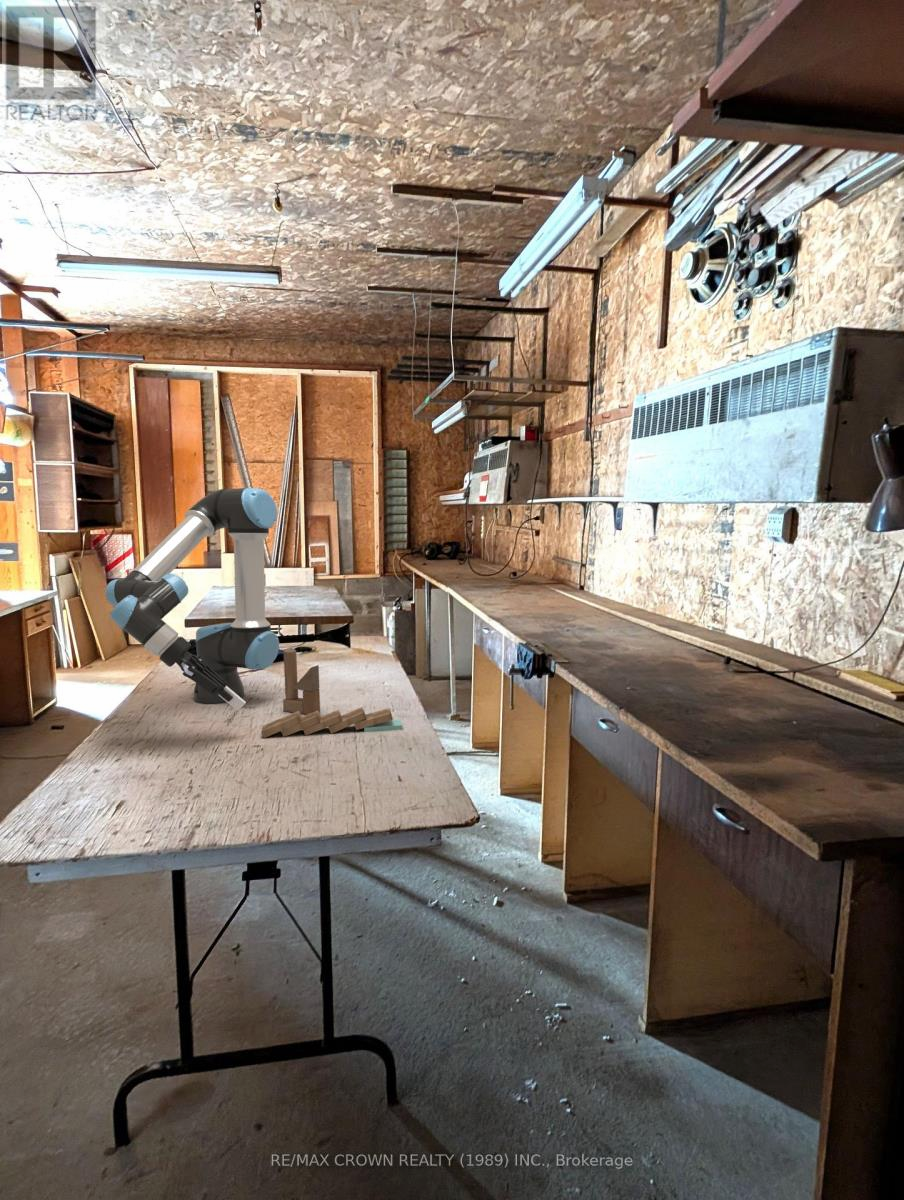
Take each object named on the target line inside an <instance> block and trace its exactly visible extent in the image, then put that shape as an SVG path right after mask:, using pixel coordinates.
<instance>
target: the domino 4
mask: <svg viewBox="0 0 904 1200" xmlns="http://www.w3.org/2000/svg"><path fill="white" fill-rule="evenodd" d="M341 717H342V722H339V723H336V724H334V725H331V726H329V727H327V728H328V730H329V732H330V734H331V735H332V734H334V733H336V732H339V731H340V730H343V729H345V728H347V727H351V726H352V725H355V724H354V723H357V722H359V721H361V720H364V719H366V713H365V709H364V707H363V706H361V707H359V708H356V709H354V710H351V711H349V712H347V713H345V714H341Z"/></svg>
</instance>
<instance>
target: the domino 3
mask: <svg viewBox="0 0 904 1200" xmlns="http://www.w3.org/2000/svg"><path fill="white" fill-rule="evenodd" d="M320 716H321V720H320V723H317V724H315V725H312V726H310V727H307V728H305V729H302V730H303V732H304V735H305V736H308V735H310V734H312V733H315V732H318V731H321V730H323V729H326V728H328V727H329V726H331V725H334V724H336V723H339V722H342V717H341V716H342V714H341V712H340V709H336V710H333V711H331V712H329V713H326V714H325V715H320Z"/></svg>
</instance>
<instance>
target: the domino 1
mask: <svg viewBox="0 0 904 1200" xmlns="http://www.w3.org/2000/svg"><path fill="white" fill-rule="evenodd" d="M301 717H302V715H301V714H300V712H299V711H297V712H294V713H293V712H291V713H290V714H287V715H285V716H282V717H281V718H278V719H276V720H274V721H271V722H269V723H266V724H263V725H262V727H261V731H260V733H261V735H262V737H263V739H264V738H267V737H270V736H272V735H274V734H277V733H280V732H281V731H282V730H284V729H287V728H289V727H291V726H294V725H296V724H298V723H301Z"/></svg>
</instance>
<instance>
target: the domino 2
mask: <svg viewBox="0 0 904 1200" xmlns="http://www.w3.org/2000/svg"><path fill="white" fill-rule="evenodd" d="M321 716H322V715H321V712H320V713H319V711H315V712H313V713H310V714H308V715H306V714H304V715H302V716H301V723H298V724H296V725H294V726H291V727H289V728H287V729H284V730H282V731H280V732H281V734H282V737H283V738H285V737H287V736H289V735H290V736H291V735H292V734H294V733H297V732H300V731H302V730H303V729H305V728H307V727H310V726H312V725H315V724H317V723H320V720H321Z"/></svg>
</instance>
